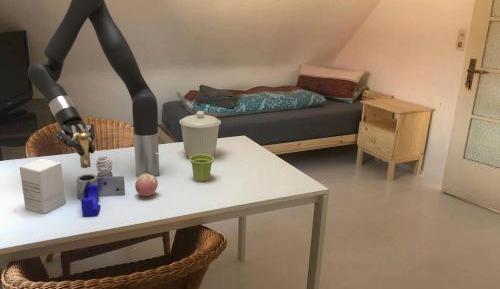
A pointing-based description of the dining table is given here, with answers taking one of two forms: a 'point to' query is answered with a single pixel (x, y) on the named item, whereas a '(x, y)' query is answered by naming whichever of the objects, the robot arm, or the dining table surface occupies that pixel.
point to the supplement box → (42, 185)
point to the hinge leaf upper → (103, 184)
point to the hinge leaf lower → (83, 192)
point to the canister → (200, 134)
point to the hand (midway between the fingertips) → (88, 153)
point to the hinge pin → (84, 148)
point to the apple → (146, 184)
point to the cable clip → (91, 202)
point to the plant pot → (201, 166)
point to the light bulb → (104, 166)
